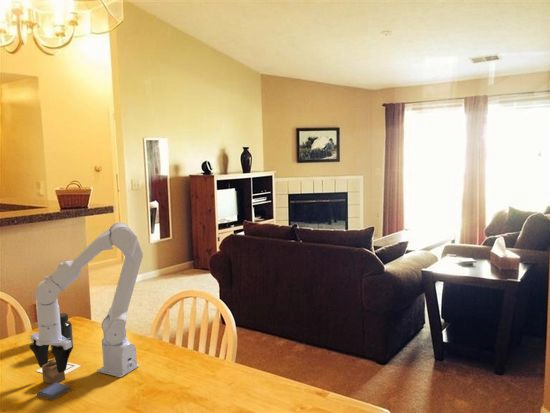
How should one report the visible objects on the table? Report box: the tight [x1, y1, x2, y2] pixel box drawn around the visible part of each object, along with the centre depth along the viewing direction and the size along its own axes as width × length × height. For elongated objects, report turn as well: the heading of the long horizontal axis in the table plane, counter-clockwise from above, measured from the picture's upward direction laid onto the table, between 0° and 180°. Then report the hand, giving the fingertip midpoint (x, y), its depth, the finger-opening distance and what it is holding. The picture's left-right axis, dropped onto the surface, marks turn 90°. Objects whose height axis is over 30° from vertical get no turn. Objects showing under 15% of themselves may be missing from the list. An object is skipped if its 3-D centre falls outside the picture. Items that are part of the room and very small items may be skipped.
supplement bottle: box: [50, 312, 74, 352], centre depth 154 cm, size 7×7×12 cm
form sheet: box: [35, 361, 82, 375], centre depth 141 cm, size 10×8×1 cm
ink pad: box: [36, 382, 72, 401], centre depth 127 cm, size 6×6×1 cm
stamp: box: [42, 358, 66, 386], centre depth 133 cm, size 4×4×6 cm
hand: (52, 368), depth 133 cm, fingers open, 7 cm apart
